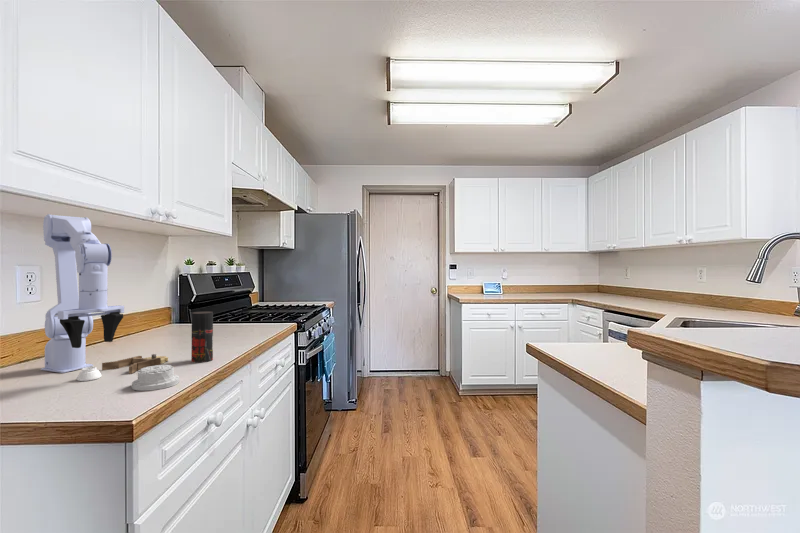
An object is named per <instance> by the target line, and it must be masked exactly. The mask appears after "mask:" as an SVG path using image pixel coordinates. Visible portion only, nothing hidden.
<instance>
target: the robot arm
mask: <svg viewBox="0 0 800 533" xmlns="http://www.w3.org/2000/svg"><path fill="white" fill-rule="evenodd" d="M42 222H43V223H42V224H43V225H42V228H43V229H42V230H43V241H44V245H45V246H47V247H49V248H51V249H52V251H53V254H54V263H55V266H54V267H55V278H56V279H55V280H56V293H57V294H56V296H57V304H55V305H54V306H52V307H51V308H49V309H48V310H47V311H46V313H45V314H44V315H45V316H44V317H45V318H44V320H45V321H44V334H45V336H46V337H47V338H48V339H49V340H48V341H47V342H46V344H45V346H44V367H42V368H40V371H45V372H46V371H47V372H55V373H61V374H62V373H68V372H73V371H77V370H82V369H83V368H87V367H94V364H91V363H86V359H87V356H86V352H87V350H86V348H87V347H86V346H87V345H86V344H87V342H86V341H87V340H86V339H87V337H89V336H88V335H90V334H91V333H92V331H93V329H94V317H95V316H100V319H101V322H102V327H103V341H104V343H112V342H113V341H114V336H115V334H116V332H117V330H118V327H119V325H120V323H121V321H122V319H124V313H125V305H122V304H121V305H108V290H109V289H108V286H109V285H108V284H109V283H108V276H109V274H108V273H109V272H108V271H109V269H108V267H109V266H110V264H112V257H113V255H112V254H113V253H112V251H113V250H112V248H111V246H110V244H109V243H101V241H100V240H99V238H98V237H97V236H96V234H94V233H93V232H92V222H91V220H90V219H89V217H87V216H85V217H84V216H83V217H81V216H80V217H79V216H69V215H60V214H59V215H56V214H51V213H47V214H46V215H45V216H44V218H43V221H42Z"/></svg>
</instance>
